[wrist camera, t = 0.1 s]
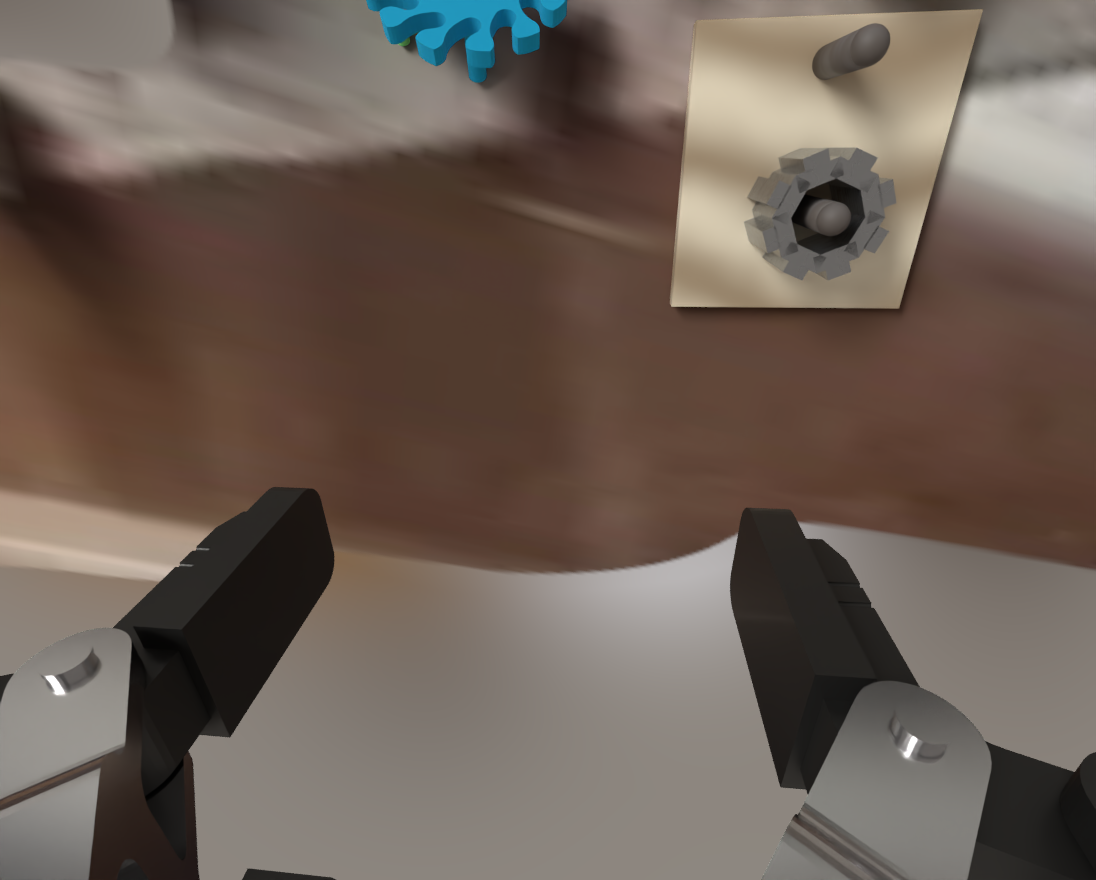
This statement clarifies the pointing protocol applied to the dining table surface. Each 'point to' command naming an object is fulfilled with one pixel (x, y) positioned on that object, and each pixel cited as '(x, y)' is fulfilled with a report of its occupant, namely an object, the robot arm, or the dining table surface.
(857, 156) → the gear
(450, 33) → the blue sprocket wheel
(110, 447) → the dining table surface
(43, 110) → the dining table surface
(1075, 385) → the dining table surface
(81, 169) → the dining table surface
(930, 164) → the peg board
